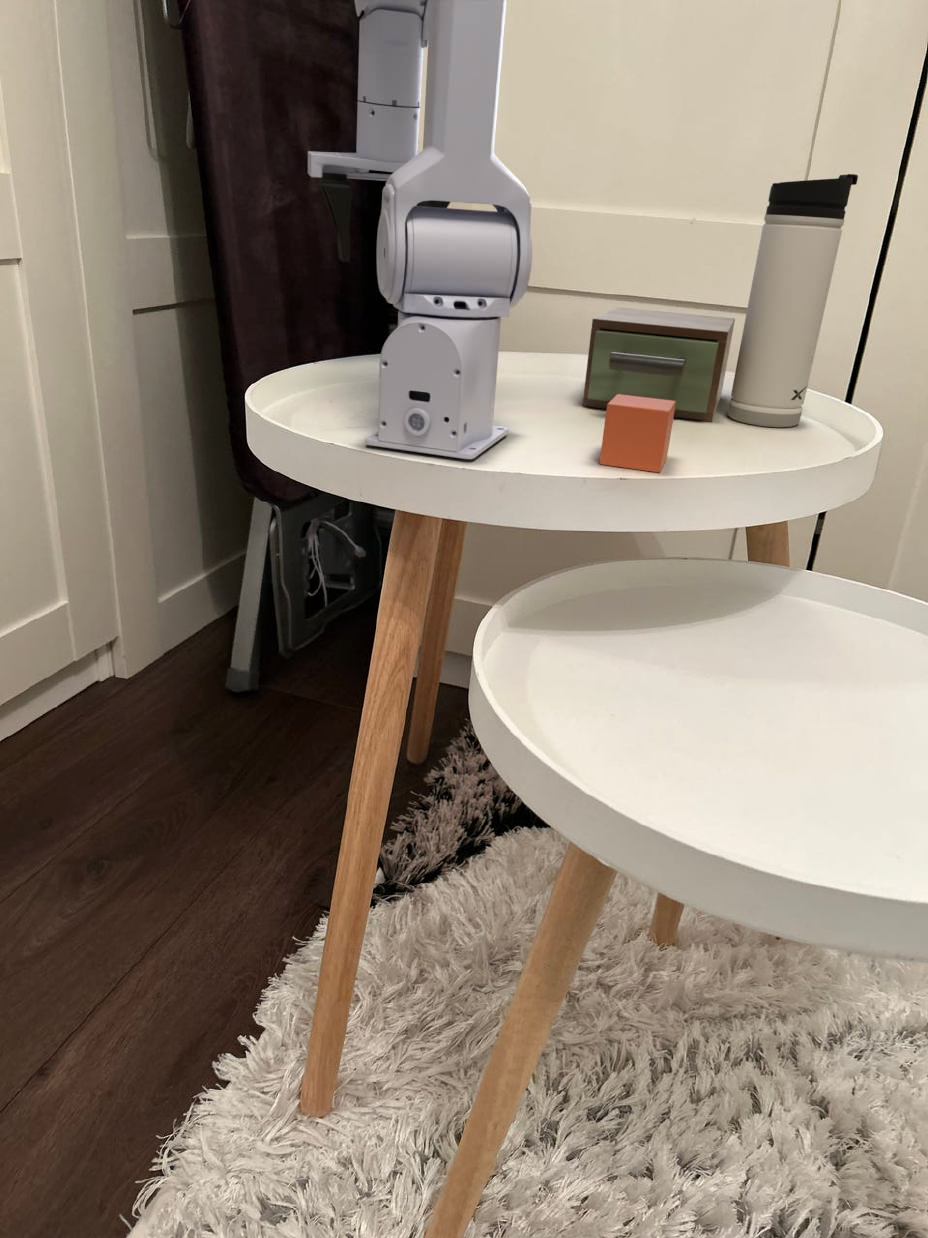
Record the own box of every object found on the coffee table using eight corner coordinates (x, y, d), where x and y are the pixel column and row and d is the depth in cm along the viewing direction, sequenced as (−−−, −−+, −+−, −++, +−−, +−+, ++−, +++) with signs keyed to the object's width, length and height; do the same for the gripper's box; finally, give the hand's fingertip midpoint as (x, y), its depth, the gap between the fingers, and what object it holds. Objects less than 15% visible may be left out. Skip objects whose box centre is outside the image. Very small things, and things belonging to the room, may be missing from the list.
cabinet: (712, 421, 77) (728, 331, 74) (582, 405, 80) (592, 318, 77) (720, 397, 89) (735, 318, 86) (607, 383, 92) (617, 307, 89)
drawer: (701, 423, 72) (714, 349, 69) (577, 407, 75) (585, 336, 72) (715, 390, 87) (726, 329, 84) (610, 378, 90) (618, 319, 87)
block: (659, 472, 60) (669, 411, 58) (599, 464, 61) (607, 403, 59) (666, 459, 64) (676, 400, 62) (609, 451, 65) (616, 393, 63)
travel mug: (812, 430, 77) (871, 173, 68) (737, 425, 76) (787, 167, 68) (790, 415, 82) (841, 176, 74) (719, 410, 82) (763, 171, 74)
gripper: (452, 107, 86) (441, 255, 93) (302, 93, 81) (303, 249, 89) (474, 113, 80) (460, 270, 87) (314, 99, 76) (314, 265, 83)
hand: (382, 261), depth 88 cm, fingers open, 7 cm apart
